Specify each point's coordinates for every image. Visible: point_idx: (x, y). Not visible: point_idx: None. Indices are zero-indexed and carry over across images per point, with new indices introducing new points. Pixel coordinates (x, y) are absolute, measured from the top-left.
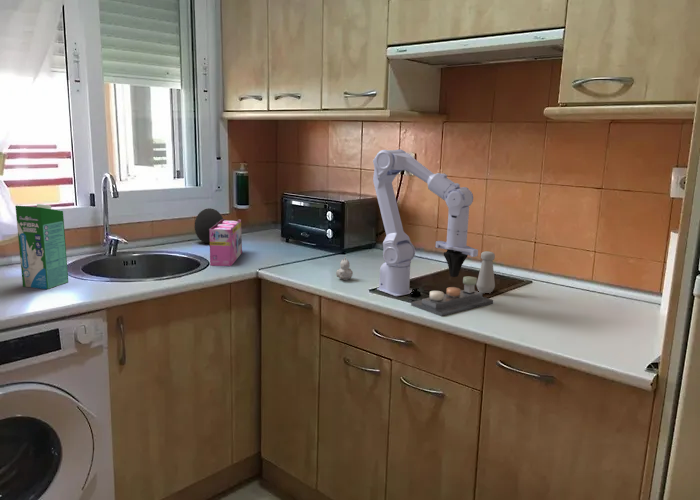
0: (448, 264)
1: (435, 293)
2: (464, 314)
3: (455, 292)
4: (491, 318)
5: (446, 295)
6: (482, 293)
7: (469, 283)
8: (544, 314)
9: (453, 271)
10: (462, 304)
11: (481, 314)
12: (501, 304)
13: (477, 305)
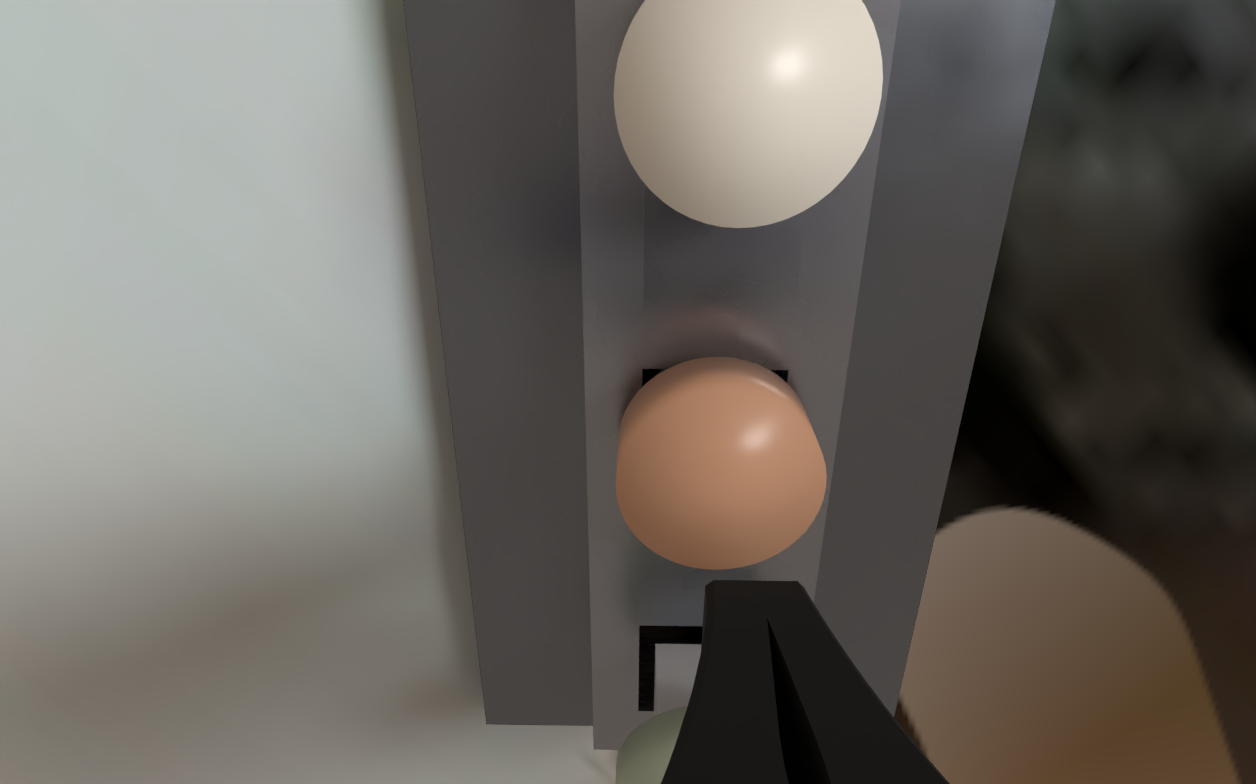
0: (911, 775)
1: (724, 27)
2: (334, 202)
3: (632, 428)
4: (92, 348)
5: (787, 382)
6: (594, 742)
7: (652, 735)
8: (56, 774)
9: (705, 656)
10: (539, 391)
11: (253, 367)
12: (431, 726)
13: (467, 522)
